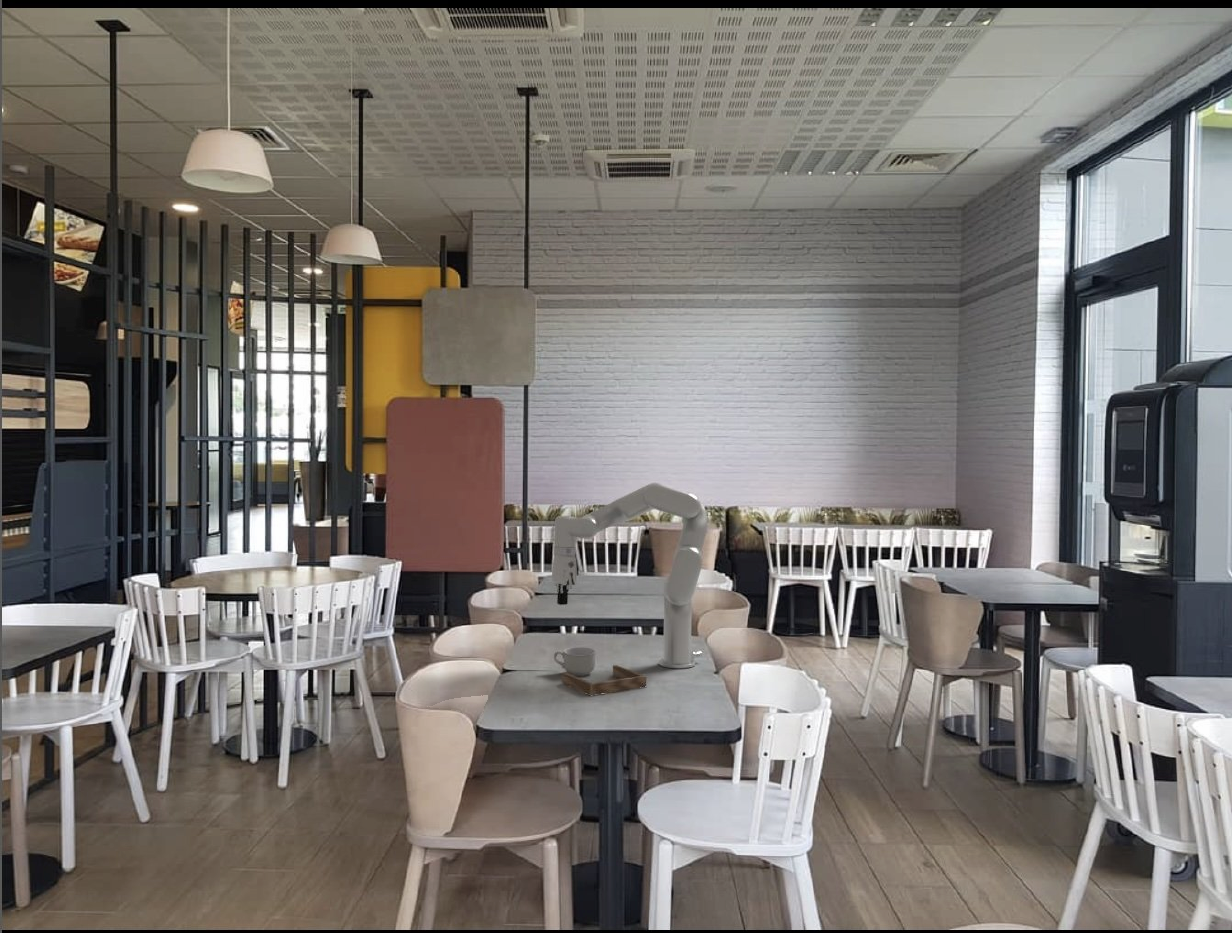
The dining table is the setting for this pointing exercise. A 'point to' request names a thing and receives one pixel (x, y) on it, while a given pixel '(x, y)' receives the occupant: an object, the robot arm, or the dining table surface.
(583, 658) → the teacup
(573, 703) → the dining table surface
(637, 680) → the corral
